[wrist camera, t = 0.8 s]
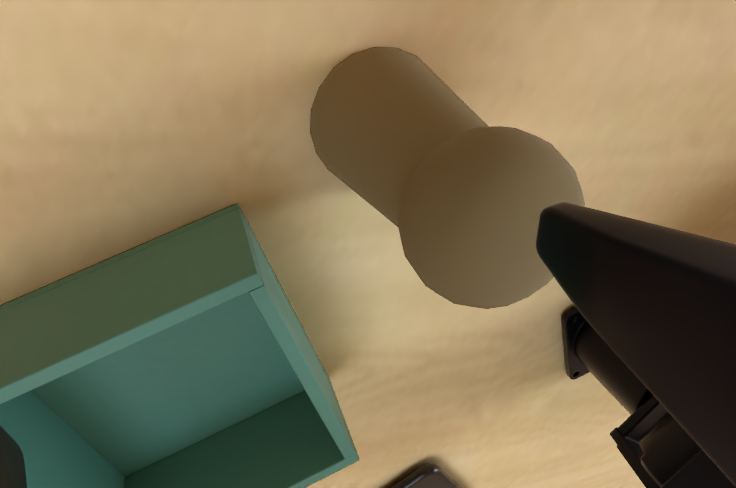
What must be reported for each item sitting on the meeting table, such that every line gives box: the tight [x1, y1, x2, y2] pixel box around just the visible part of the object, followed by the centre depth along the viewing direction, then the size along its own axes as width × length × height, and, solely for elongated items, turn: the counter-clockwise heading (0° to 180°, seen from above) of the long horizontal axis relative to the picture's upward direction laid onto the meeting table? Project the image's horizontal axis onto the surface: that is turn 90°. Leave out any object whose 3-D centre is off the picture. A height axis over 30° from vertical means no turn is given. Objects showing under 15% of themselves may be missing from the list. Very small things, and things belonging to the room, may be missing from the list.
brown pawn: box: [310, 47, 585, 309], centre depth 18 cm, size 6×6×11 cm
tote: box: [0, 204, 359, 488], centre depth 23 cm, size 12×12×6 cm
